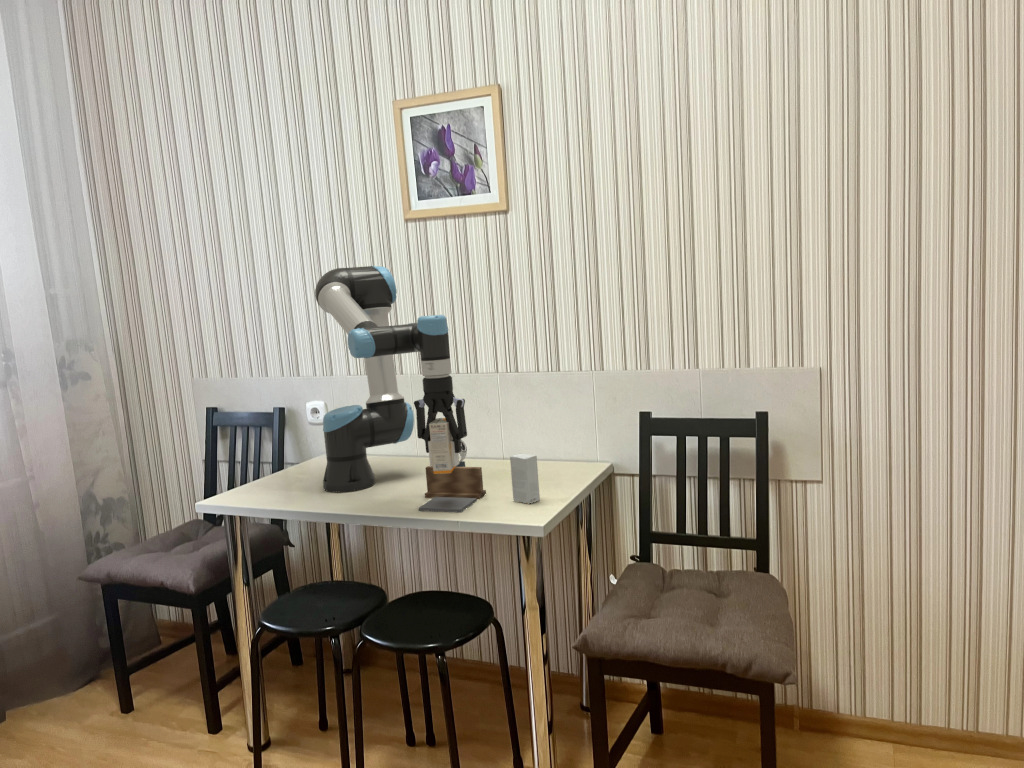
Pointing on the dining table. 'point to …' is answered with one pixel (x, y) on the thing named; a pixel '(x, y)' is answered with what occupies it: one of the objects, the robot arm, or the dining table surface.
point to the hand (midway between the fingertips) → (444, 464)
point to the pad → (447, 504)
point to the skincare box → (525, 478)
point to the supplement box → (441, 446)
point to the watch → (462, 454)
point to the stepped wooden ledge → (455, 483)
